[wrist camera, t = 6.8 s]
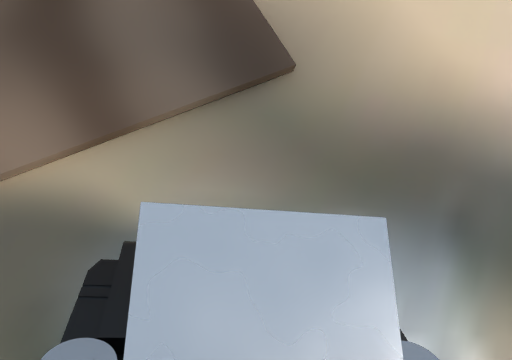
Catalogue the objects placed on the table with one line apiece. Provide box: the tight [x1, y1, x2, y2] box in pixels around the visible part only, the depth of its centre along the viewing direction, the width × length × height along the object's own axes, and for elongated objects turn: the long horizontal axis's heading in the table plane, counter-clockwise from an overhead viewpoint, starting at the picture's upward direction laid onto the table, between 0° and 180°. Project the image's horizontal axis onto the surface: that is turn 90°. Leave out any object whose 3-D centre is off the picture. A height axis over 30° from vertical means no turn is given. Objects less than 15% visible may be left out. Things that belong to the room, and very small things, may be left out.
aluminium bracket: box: [123, 202, 403, 360], centre depth 11 cm, size 8×4×9 cm, turn 90°
